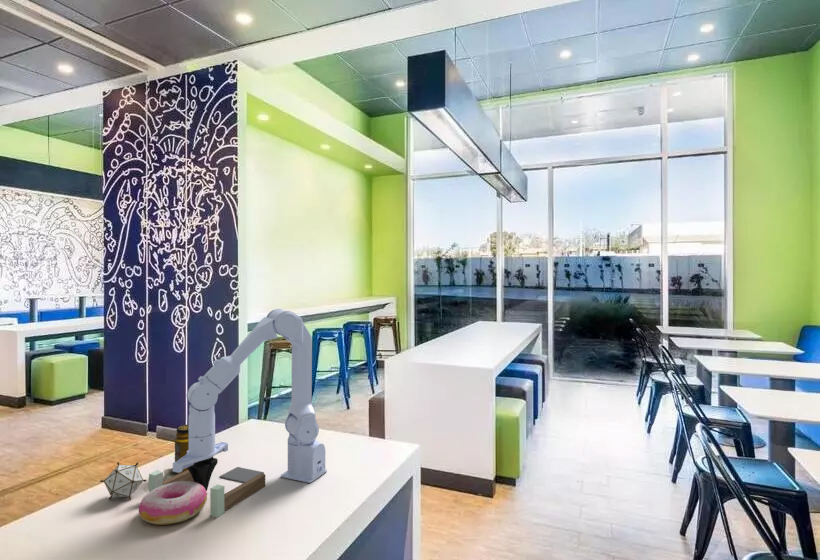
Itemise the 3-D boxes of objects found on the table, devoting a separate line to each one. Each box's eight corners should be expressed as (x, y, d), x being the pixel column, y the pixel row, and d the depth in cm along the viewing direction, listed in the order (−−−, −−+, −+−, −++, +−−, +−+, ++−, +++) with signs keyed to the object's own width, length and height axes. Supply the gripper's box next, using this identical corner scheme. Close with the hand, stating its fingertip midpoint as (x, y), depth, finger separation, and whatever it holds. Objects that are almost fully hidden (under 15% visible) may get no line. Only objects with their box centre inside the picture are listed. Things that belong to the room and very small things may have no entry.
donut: (162, 497, 109) (162, 476, 109) (218, 499, 108) (218, 477, 108) (124, 528, 95) (124, 504, 95) (187, 530, 95) (187, 506, 95)
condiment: (203, 473, 122) (203, 428, 122) (167, 480, 118) (167, 433, 118) (198, 463, 128) (198, 421, 128) (164, 470, 124) (164, 426, 124)
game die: (122, 516, 107) (104, 495, 101) (105, 495, 111) (87, 473, 105) (158, 487, 112) (143, 465, 106) (140, 468, 116) (125, 446, 110)
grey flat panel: (263, 473, 122) (263, 472, 122) (246, 483, 116) (246, 482, 116) (237, 467, 126) (237, 466, 126) (219, 477, 120) (219, 476, 120)
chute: (266, 486, 114) (267, 462, 114) (217, 517, 100) (217, 489, 99) (203, 472, 122) (203, 450, 122) (149, 499, 108) (148, 473, 108)
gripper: (213, 422, 117) (213, 476, 117) (162, 441, 104) (162, 501, 104) (234, 426, 114) (234, 480, 114) (185, 445, 101) (185, 507, 101)
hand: (201, 491), depth 109 cm, fingers closed
